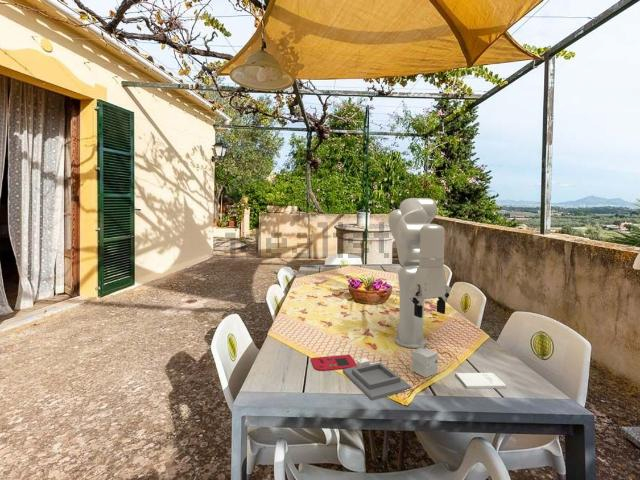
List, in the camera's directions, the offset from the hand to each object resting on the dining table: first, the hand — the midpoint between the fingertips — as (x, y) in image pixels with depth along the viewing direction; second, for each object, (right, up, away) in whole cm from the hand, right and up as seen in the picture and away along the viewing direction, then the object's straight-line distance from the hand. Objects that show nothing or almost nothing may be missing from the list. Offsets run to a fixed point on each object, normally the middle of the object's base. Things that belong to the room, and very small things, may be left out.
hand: (429, 314), depth 112 cm
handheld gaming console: (-31, -20, +9) cm, 38 cm away
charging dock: (-18, -20, -3) cm, 27 cm away
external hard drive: (+15, -21, -4) cm, 26 cm away
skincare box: (-1, -20, +2) cm, 20 cm away
